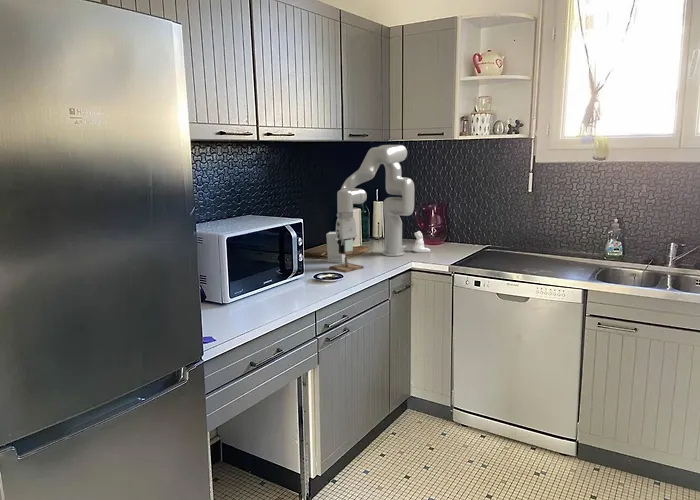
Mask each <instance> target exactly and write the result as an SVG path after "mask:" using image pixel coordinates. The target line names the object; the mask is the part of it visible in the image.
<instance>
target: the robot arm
mask: <svg viewBox="0 0 700 500" xmlns="http://www.w3.org/2000/svg"><path fill="white" fill-rule="evenodd" d="M407 156H408V150H407V148H406V146H404V145H403V144H382V145H379V146H375V147H371V148H370V149H369V150H368V151H367V153H366V155H365V156H364V159H363V161H362V163H361V164H360V167H359V168H358V169H357V170H356V171H355V172H353V173H352V174H351V175H350V176H348V177H347V178H346V179H345V181H344V182H343V184H342V185H341V187H340V190H338V191H337V194H336V195H337V196H336V197H337V198H336V201H337V213H336V217H337V219H336V223H335V232H336V235H335V237H334V240H335V241H336V242H337V243H338V245H339V253H344V245H343V243H344V239H353V242H354V241H355V239H356V238H357V237H358V235H357V228H356V227H357V225H356V221H355V217H354V205H361V204H363V203H365V202H366V201H367V198H368V197H367V194H368V193H367V192H366V191H365V190H364V189H363V188H356V187H357V186H359V185H361V184H363V183H366V182H369V181H370V180H371V181H372V179H374V177H375V176H376V174H377V171H378V169H379V168H380V166H381V165H383V166H384V169H385V191H386V193H387V194H388V195H392V196H390V197H386V198H385V199H384V200H383V203H382V211H383V217H384V250H383V251H382V252H381V254H382V255H383V256H387V257H399V256H404V255H405V254H406V252H405V251H404V250H405V249H406V250H407V249H408V245H403V221H402V218H401V217H400V216H403V217H404V216H406V217H408V216H409V217H410V216H411V215H412V214H414V213H413V212H414V210H415V182H414V181H413V180H412V178H409V177H402V165H401V164H400V162H403V161H404V160H406V159H407ZM393 195H394V196H395V197H394V196H393ZM398 196H402V197H398ZM338 238H339V239H338Z"/></svg>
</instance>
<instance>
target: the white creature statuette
mask: <svg viewBox="0 0 700 500" xmlns="http://www.w3.org/2000/svg"><path fill="white" fill-rule="evenodd" d="M414 237H415V238H416V240H415V243H414V245H413V247H412V250H413V252H414V253H418V254H421V253H424V254H425V253H426V254H429V253H431V249H430V248H428V247H425V242H424V236H423V233H422V232H421V231H420V230H418V231H417V232H414Z"/></svg>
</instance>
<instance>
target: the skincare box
mask: <svg viewBox="0 0 700 500" xmlns="http://www.w3.org/2000/svg"><path fill="white" fill-rule="evenodd" d="M335 235H336V231H329V232H327V233H326V234H325V237H326V248H327V249H326V252H327V263H329V264H331V263H333V264H334V263H337V264H343V263H345V257H346V255H344V254H339V246H338V243H337V242H336V241H335V240H334V237H335ZM338 239H339V238H338Z"/></svg>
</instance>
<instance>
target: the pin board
mask: <svg viewBox="0 0 700 500" xmlns="http://www.w3.org/2000/svg"><path fill="white" fill-rule="evenodd" d="M364 267H365V266H364V265H360V264H355V263H352V262H351V263H350V262H349V257H347V256H345V261H344V262H343V263H338V264H335V265H331V266H329V267H328V268H329V269H330V270H334V271H338V272H343V273H349V272H350V273H351V272H353V271H357V270H362V269H364Z"/></svg>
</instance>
